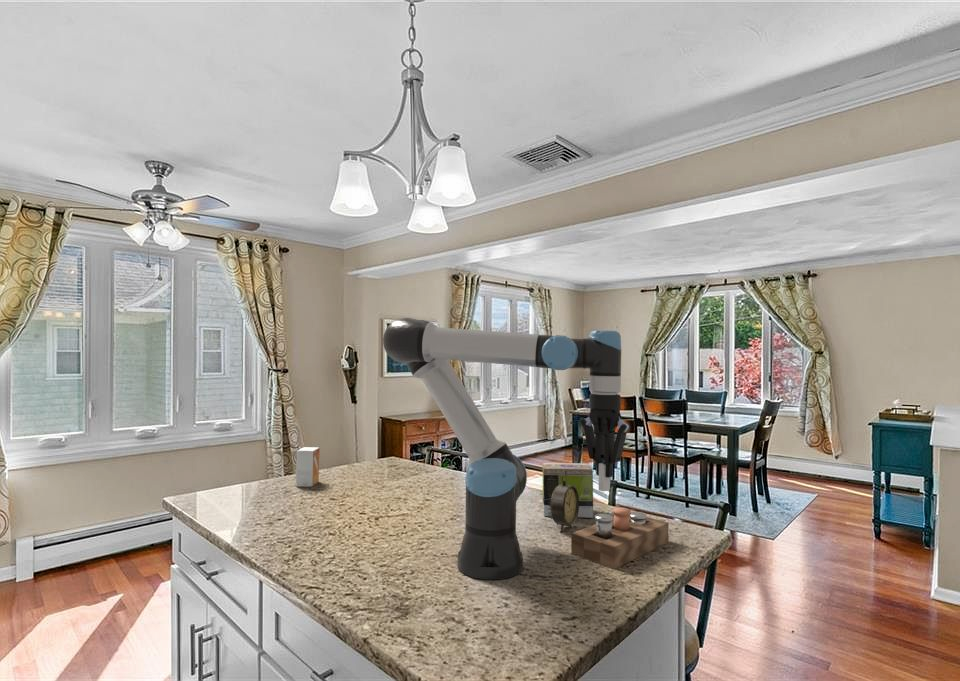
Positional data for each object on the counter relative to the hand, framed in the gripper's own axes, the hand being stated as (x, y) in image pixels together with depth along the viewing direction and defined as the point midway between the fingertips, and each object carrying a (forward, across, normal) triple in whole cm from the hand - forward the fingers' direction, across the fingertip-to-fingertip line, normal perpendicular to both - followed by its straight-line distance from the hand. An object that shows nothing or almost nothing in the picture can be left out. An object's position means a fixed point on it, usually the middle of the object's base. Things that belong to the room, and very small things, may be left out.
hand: (604, 489), depth 125 cm
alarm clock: (+16, +19, -9) cm, 26 cm away
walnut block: (+16, 0, -8) cm, 18 cm away
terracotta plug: (+11, 0, -8) cm, 14 cm away
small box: (+17, +112, +23) cm, 116 cm away
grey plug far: (+14, 0, -16) cm, 21 cm away
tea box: (+16, +27, -21) cm, 38 cm away
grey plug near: (+11, 0, 0) cm, 11 cm away
